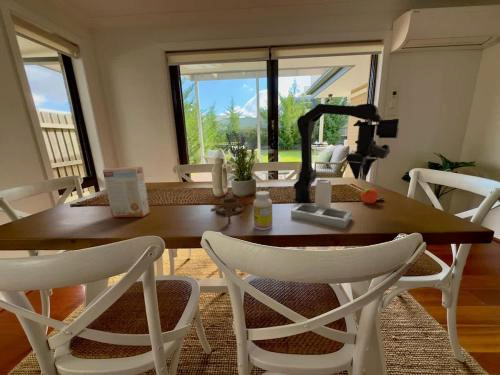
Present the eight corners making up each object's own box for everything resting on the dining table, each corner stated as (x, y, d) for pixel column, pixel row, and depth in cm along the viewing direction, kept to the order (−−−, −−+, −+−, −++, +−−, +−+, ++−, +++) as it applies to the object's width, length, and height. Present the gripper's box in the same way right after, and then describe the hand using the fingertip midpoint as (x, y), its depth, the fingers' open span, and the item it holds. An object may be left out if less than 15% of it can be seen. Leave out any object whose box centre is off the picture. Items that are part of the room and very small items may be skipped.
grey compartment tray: (291, 217, 86) (291, 210, 85) (301, 209, 94) (301, 203, 93) (344, 229, 74) (345, 220, 74) (351, 218, 83) (351, 211, 82)
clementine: (369, 207, 94) (370, 191, 92) (355, 202, 100) (356, 188, 98) (380, 203, 98) (382, 188, 96) (366, 199, 104) (367, 185, 102)
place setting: (254, 209, 98) (254, 196, 97) (232, 226, 81) (231, 211, 80) (221, 204, 106) (221, 193, 104) (195, 220, 89) (193, 206, 87)
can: (331, 210, 92) (333, 183, 89) (315, 210, 93) (316, 182, 90) (329, 205, 98) (330, 179, 95) (314, 205, 99) (315, 179, 96)
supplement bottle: (253, 223, 81) (252, 190, 78) (270, 222, 82) (270, 189, 79) (255, 231, 75) (254, 195, 72) (274, 230, 76) (273, 194, 72)
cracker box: (150, 212, 98) (143, 166, 92) (143, 217, 92) (135, 168, 87) (120, 212, 99) (111, 167, 93) (111, 217, 93) (101, 169, 88)
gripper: (380, 139, 73) (374, 184, 77) (396, 137, 85) (390, 176, 89) (347, 139, 81) (343, 179, 85) (366, 137, 93) (362, 172, 97)
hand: (361, 177), depth 89 cm, fingers open, 9 cm apart
